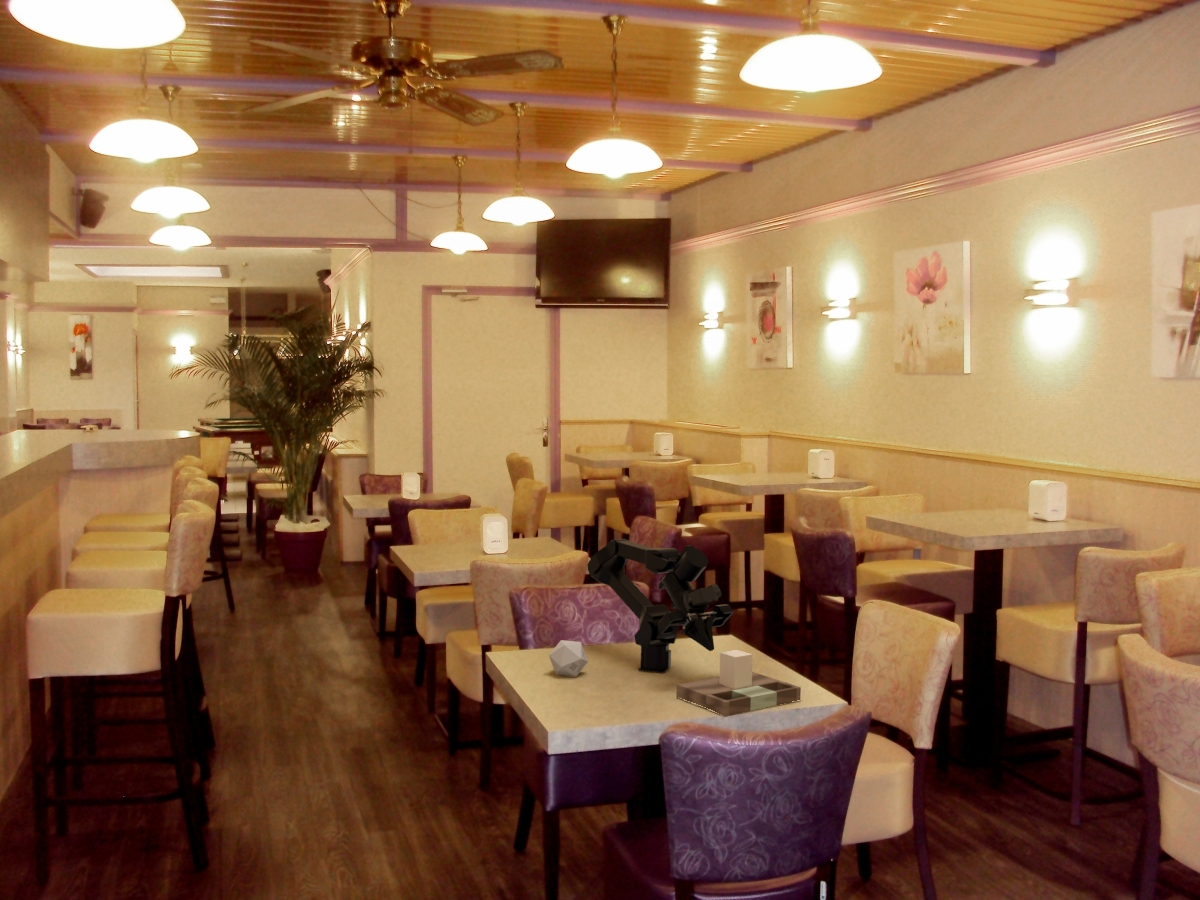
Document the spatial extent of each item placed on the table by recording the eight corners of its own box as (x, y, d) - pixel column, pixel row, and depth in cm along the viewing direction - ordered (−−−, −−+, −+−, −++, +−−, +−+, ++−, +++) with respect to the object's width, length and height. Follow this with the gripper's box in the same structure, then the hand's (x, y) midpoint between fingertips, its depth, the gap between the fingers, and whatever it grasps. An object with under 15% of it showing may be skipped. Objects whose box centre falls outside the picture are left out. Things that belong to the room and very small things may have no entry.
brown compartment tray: (676, 697, 240) (676, 684, 240) (750, 683, 252) (750, 671, 252) (724, 716, 227) (725, 702, 226) (800, 700, 239) (800, 687, 239)
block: (719, 683, 241) (720, 652, 240) (736, 680, 244) (737, 649, 243) (734, 689, 237) (735, 657, 236) (751, 685, 239) (752, 654, 239)
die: (563, 684, 252) (588, 650, 252) (536, 661, 255) (562, 628, 256) (574, 688, 259) (599, 655, 260) (549, 665, 263) (573, 633, 263)
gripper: (666, 576, 245) (697, 634, 236) (729, 569, 255) (760, 625, 247) (644, 605, 251) (673, 662, 243) (706, 597, 262) (736, 652, 254)
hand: (712, 649), depth 246 cm, fingers closed
